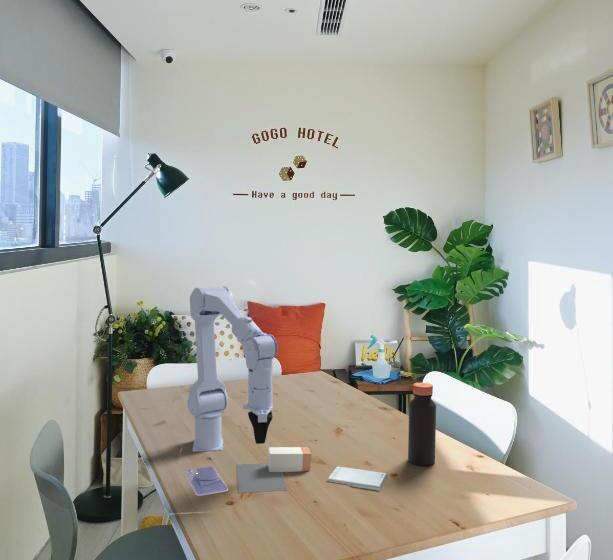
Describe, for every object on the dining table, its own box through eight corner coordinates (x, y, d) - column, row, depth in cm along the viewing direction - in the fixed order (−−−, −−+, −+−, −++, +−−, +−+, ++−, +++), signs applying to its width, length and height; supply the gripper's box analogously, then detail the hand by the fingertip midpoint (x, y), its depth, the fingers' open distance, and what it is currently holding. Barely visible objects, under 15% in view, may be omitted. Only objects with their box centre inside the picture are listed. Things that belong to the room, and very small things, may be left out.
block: (268, 447, 139) (308, 447, 141) (267, 464, 140) (307, 464, 141) (270, 453, 135) (310, 453, 136) (269, 472, 135) (310, 471, 137)
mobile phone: (196, 495, 122) (182, 469, 136) (196, 499, 122) (182, 473, 136) (230, 489, 125) (213, 465, 139) (230, 493, 125) (213, 468, 139)
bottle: (423, 454, 148) (425, 380, 147) (440, 463, 142) (442, 386, 141) (402, 458, 145) (404, 383, 144) (419, 468, 139) (420, 389, 138)
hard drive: (387, 472, 134) (337, 465, 138) (379, 486, 126) (327, 477, 130) (387, 479, 134) (337, 471, 138) (379, 493, 126) (327, 484, 130)
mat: (236, 466, 140) (236, 464, 140) (280, 463, 141) (280, 462, 141) (237, 494, 124) (237, 492, 124) (287, 491, 126) (287, 490, 126)
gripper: (242, 379, 139) (241, 433, 139) (244, 395, 124) (244, 454, 125) (270, 378, 140) (270, 431, 141) (276, 394, 125) (275, 453, 126)
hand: (260, 442), depth 133 cm, fingers closed
